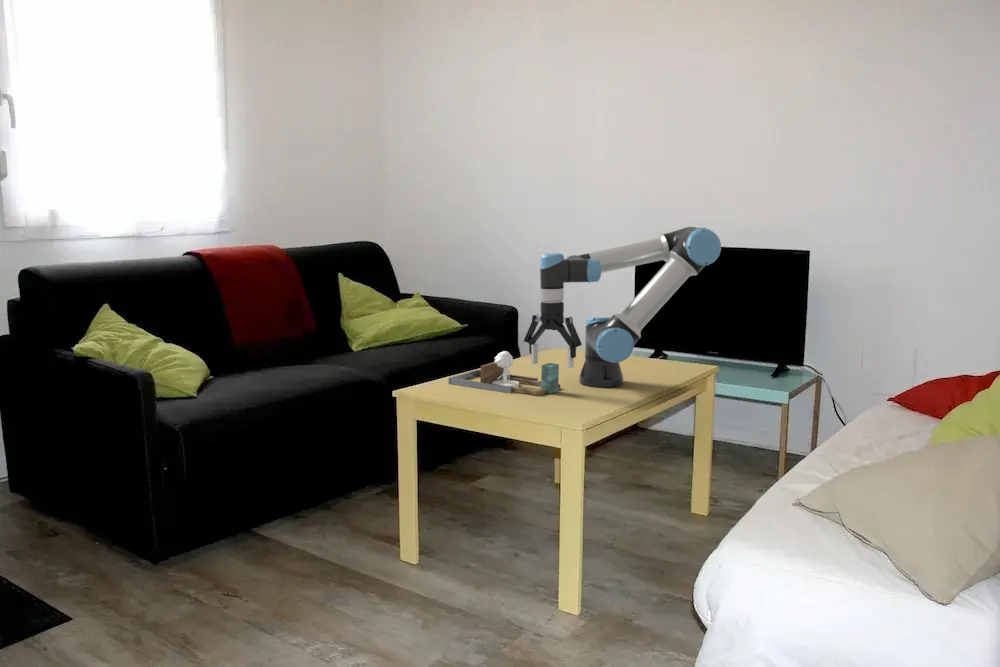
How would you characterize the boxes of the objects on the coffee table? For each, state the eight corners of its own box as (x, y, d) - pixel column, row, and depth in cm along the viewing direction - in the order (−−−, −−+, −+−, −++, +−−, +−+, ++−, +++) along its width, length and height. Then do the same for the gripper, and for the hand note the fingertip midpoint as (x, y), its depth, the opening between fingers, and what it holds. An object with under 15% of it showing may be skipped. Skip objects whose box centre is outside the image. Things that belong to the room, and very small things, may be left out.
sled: (564, 388, 290) (565, 362, 289) (543, 396, 279) (544, 368, 277) (502, 379, 303) (503, 354, 302) (480, 386, 292) (480, 360, 291)
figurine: (518, 389, 290) (519, 353, 288) (491, 388, 290) (492, 353, 288) (519, 383, 299) (519, 349, 297) (492, 382, 299) (493, 348, 297)
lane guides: (538, 383, 298) (538, 378, 297) (510, 393, 283) (510, 387, 283) (477, 375, 311) (477, 369, 311) (448, 383, 297) (448, 377, 297)
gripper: (591, 302, 277) (591, 367, 280) (525, 297, 290) (525, 360, 294) (580, 304, 271) (580, 371, 274) (513, 300, 284) (514, 363, 287)
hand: (552, 365), depth 284 cm, fingers open, 13 cm apart
